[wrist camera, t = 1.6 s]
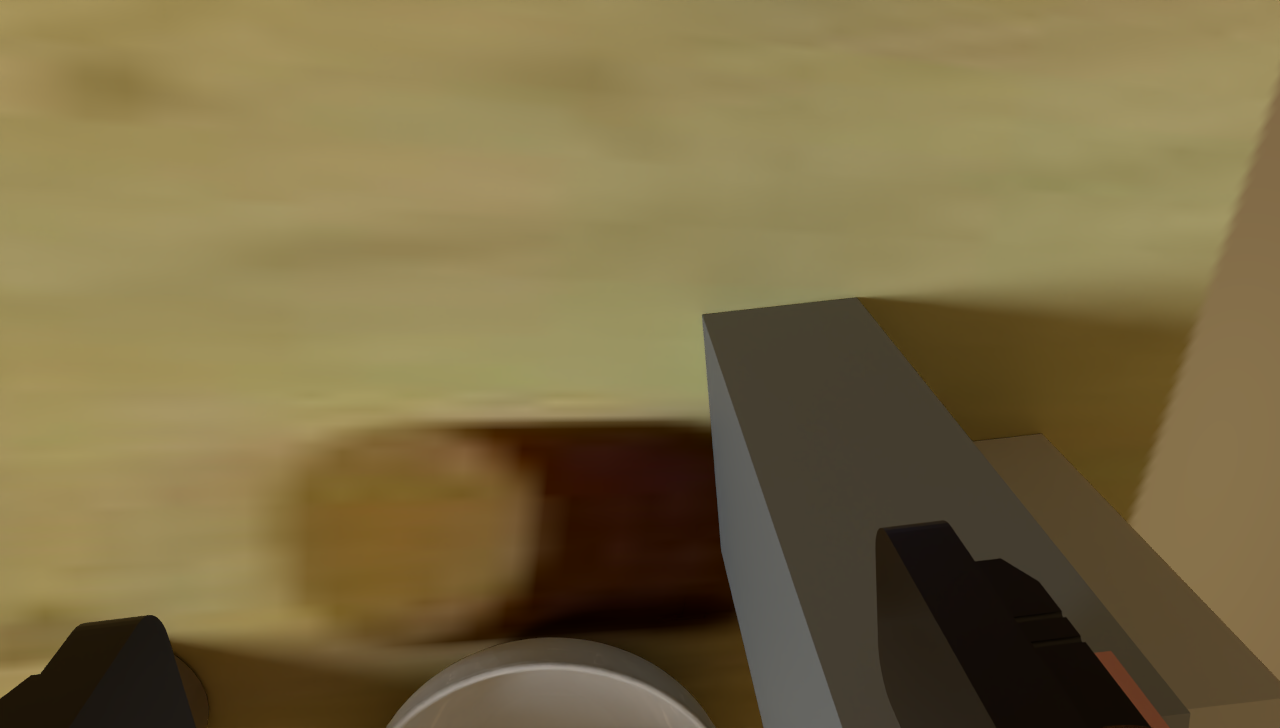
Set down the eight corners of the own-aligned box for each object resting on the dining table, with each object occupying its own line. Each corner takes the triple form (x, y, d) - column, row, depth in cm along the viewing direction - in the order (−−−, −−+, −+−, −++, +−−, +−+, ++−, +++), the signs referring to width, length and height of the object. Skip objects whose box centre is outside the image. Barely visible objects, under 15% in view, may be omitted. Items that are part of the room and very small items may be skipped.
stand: (1032, 646, 63) (1437, 1267, 33) (731, 680, 63) (869, 1337, 33) (1049, 276, 55) (1610, 664, 25) (702, 314, 54) (850, 752, 25)
